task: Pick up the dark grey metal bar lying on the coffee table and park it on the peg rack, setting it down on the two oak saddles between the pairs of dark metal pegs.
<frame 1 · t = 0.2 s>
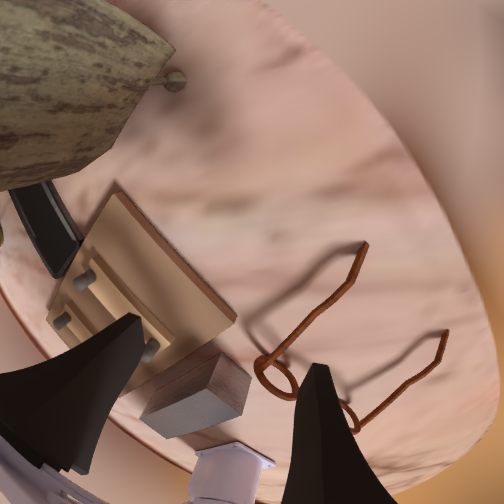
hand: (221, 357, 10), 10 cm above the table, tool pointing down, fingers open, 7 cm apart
cup: (0, 233, 26), on the table
metal bar: (198, 385, 26), on the table
phone: (43, 207, 23), on the table
tabletop clock: (119, 86, 17), on the table
peg rack: (116, 318, 25), on the table
glasses: (359, 341, 22), on the table
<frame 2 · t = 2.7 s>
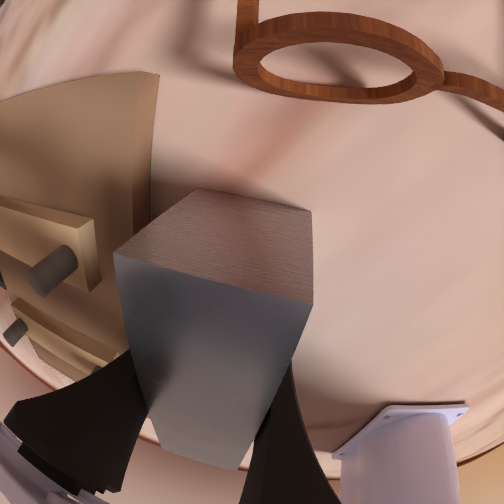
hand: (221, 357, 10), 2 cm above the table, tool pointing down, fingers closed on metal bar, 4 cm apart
metal bar: (232, 325, 12), on the table, touching gripper
peg rack: (60, 280, 13), on the table
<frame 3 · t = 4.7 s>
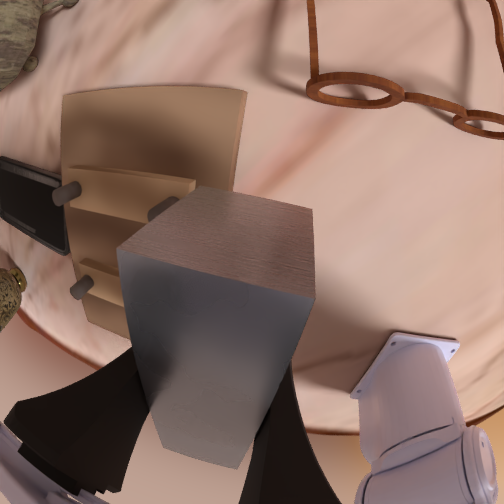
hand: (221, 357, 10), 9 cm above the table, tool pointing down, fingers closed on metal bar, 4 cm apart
cup: (22, 276, 27), on the table
metal bar: (233, 323, 12), point 7 cm above the table, touching gripper
phone: (32, 198, 21), on the table
tabletop clock: (39, 46, 13), on the table
peg rack: (137, 237, 19), on the table
glasses: (407, 25, 10), on the table
when the fingers open (5 cm above the table, at t = 7.0 s): metal bar stays where it is, resting on peg rack.
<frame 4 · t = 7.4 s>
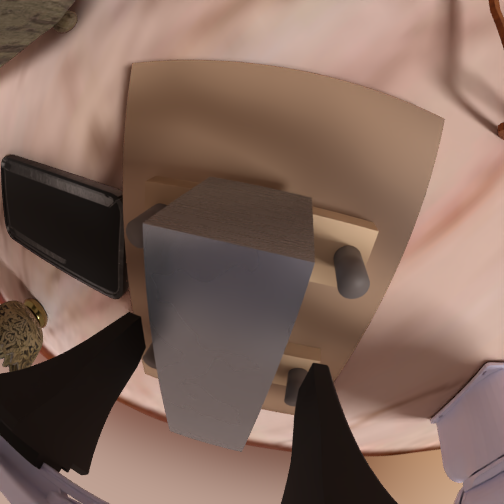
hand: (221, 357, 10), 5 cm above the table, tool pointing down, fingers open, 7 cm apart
cup: (40, 308, 23), on the table
metal bar: (239, 306, 13), point 2 cm above the table, touching peg rack
phone: (58, 215, 16), on the table
tabletop clock: (79, 1, 8), on the table
peg rack: (247, 284, 15), on the table
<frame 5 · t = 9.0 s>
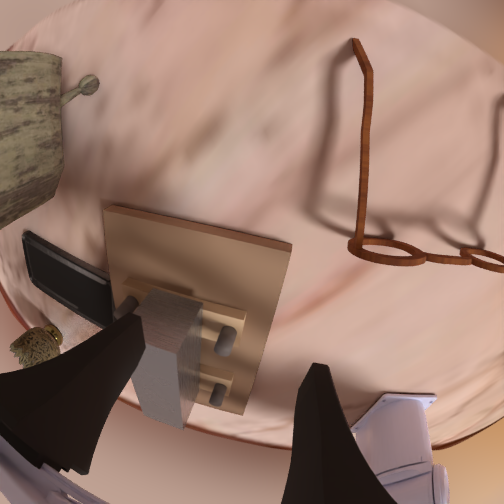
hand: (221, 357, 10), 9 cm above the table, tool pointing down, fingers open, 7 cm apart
cup: (56, 331, 31), on the table
metal bar: (178, 348, 22), point 2 cm above the table, touching peg rack
phone: (70, 277, 25), on the table
tabletop clock: (57, 129, 17), on the table
peg rack: (187, 332, 24), on the table
glasses: (442, 154, 14), on the table
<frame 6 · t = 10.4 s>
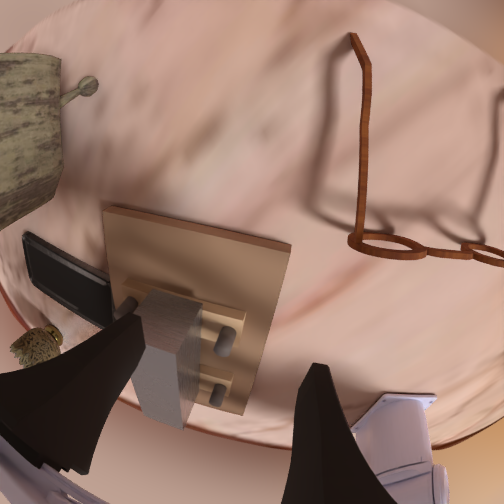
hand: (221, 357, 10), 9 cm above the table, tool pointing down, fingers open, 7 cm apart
cup: (57, 331, 31), on the table
metal bar: (178, 348, 22), point 2 cm above the table, touching peg rack
phone: (70, 278, 25), on the table
tabletop clock: (57, 130, 17), on the table
peg rack: (187, 333, 24), on the table
glasses: (442, 148, 13), on the table
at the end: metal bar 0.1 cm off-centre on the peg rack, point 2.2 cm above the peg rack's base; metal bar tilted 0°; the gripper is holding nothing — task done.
